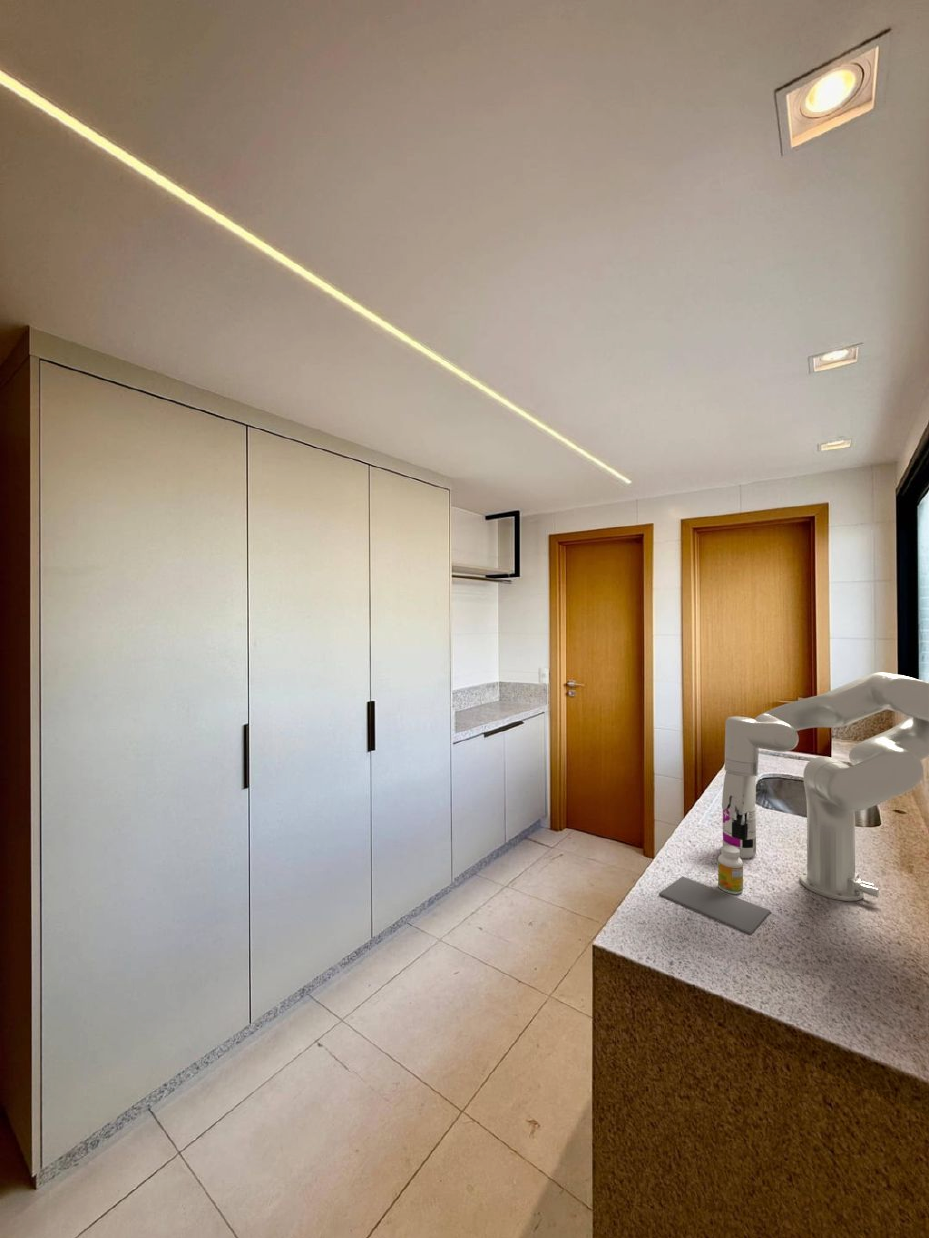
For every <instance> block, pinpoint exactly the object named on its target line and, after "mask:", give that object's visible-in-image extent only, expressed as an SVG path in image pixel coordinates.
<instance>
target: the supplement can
mask: <svg viewBox="0 0 929 1238" xmlns="http://www.w3.org/2000/svg"><path fill="white" fill-rule="evenodd" d="M729 814H730V809H728V810H726V811H725V810H723V809H722V846H725V845H728V846H733V847H736V848H738V849H739V850H740V857H739V858H740V859H752V858H753V857H754V856H756V855H757V808H756V806H755V807H754V808H753V809H751V810H750V811H749V817H748V823H747V824H748V838H747V839H746V840H745V841H743V840H740V839H737V838H734V837H732V821H731V819H730V818H729Z"/></svg>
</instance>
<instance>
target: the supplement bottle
mask: <svg viewBox="0 0 929 1238" xmlns="http://www.w3.org/2000/svg"><path fill="white" fill-rule="evenodd" d="M720 850H721V851H720V853H721V854H719V856H718V857H717V858H718V859H717V864H718V865H717V868H718V869H717V871H718V873H717V876H718V877H717V878H718V881H717V882H718V883H717V885H718V887H719V889H720V890H721V891H722V892H724V893H727V894H730V895H739V894H741V893H743V891H744V863H743V860H742V858H739V857H740V850H739V849H738V848H736V847H733V846H728V845H725V846H723V845H721V849H720Z"/></svg>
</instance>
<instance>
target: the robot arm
mask: <svg viewBox="0 0 929 1238" xmlns="http://www.w3.org/2000/svg"><path fill="white" fill-rule="evenodd" d="M885 710H888V711H893V712H896V713H899V714H902V715H905V716H904V718H903V720H902V721H901V722H900V723H898V724H897V725H895V726H893V727H892V728H890V729H887V730H885V731H883V732H881V733H878V734H876V735H874V736H871V737H868V738H867V739H865V740H862V741H860V742H858V743H856V744H855V745H854V746H853V747H852V748H850V751H849V753H848V754H849V755H848V759H849V762H850V763H851V766H850V765H849V764H847V763H845V762H843V761H841V760H839V759H836V758H834V757H829V756H817V757H815V758H812V759H811V760H809V761H808V762H807V764H806V765H805V766H804V769H803V775H802V777H803V786H804V792H805V798H806V799H805V800H806V870H804V871H802V872H801V873H799V881H800V883H801V884H802V885H803V886H804V887H805V888H806V889H808V890H810V891H811V892H813V893H815V894H817V895H820V896H823V897H825V898H829V899H834V900H837V901H842V902H843V901H844V902H855V901H860V900H862V899H863V898H864V895H865V894H866V895H869V896H871V897H875V898H879V895H880V894H879V893H880V889H879V888H876V887H875V884H874V883H871V882H868V881H865V880H862V879H861V878H860V873H859V872H856V816H855V812H860V811H865V810H867V809H870V808H872V807H875V806H878V805H880V804H883V803H886V802H888V801H890V800H892V799H894V798H897V797H899V796H901V795H904V794H906V793H908V792H910V791H912V790H913V789H915V788H916V787H917V786H918V785H919V784H920V783H921V782H922V779H923V777H924V766H923V763H922V761H923V760H924V759H926V758H928V757H929V682H928V681H925V680H921V679H917V678H914V677H910V676H906V675H904V674H903V675H902V674H896V673H890V672H881V671H880V672H874V673H871V674H870V673H869V674H868V675H865V676H862V677H861V678H858V679H855V680H853V681H851V682H848V683H845V684H843V685H841V686H838V687H836V688H834V689H832V690H829V691H827V692H824V693H822V694H819V695H815V696H810V697H806V698H804V699H800V700H795V701H792V702H788V703H784V704H782V705H780V706H777V707H773V708H772V709H769V710H767V711H765V712H763V713H760V714H759V715H757V716H756V717H755V718H751V717H746V716H737V715H736V716H729V717H727V719H726V720H725V725H724V726H725V732H724V733H725V734H724V771H725V774H724V777H723V778H724V780H723V787H722V796H721V797H722V799H721V800H722V801H721V809H722V811H723V810H725V811H726V810H728V809H730V814H729V818H730V819H731V821H732V837H734V838H737V839H740V840H743V841H745V840H746V839H747V838H748V824H747V823H748V817H749V811H750V810H751V809H753V808H754V807H756V801H757V800H756V799H757V785H756V783H757V782H756V777H757V776H758V775H759V755H760V754H759V749H763V750H768V751H771V752H772V751H773V752H777V753H786V752H790V751H792V750H794V749H795V748H796V747H797V746H798V743H799V741H800V740H799V739H800V738H799V737H800V736H799V734H798V731H801V730H806V729H813V728H841V727H846V726H848V725H851V724H853V723H855V722H858V721H860V720H863V719H865V718H868V717H870V716H873V715H876V714H878V713H881V712H883V711H885Z"/></svg>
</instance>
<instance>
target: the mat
mask: <svg viewBox="0 0 929 1238" xmlns="http://www.w3.org/2000/svg"><path fill="white" fill-rule="evenodd" d="M658 895H659V896H661V898H662V897H663V898H664V899H667V900H669V901H672V902H674V903H676V904H678V905H680V906H683V907H685V908H688V909H691V910H693V911H694V912H697V913H698V914H702V915H703V916H707V917H708V918H710V919H713V920H716V921H718V922H720V923H722V924H724V925H727V926H729V927H731V928H734V929H735V930H737V931H740V932H742V933H745V934H747V935H749V936H751V935H752V934H754V932H755V931H756V930H757V929H758V928H759V926H761V924H762V923H763V922H764V921H765V920H766V919H767V918H768V917H769V915H770V914H771V912H772V911H771V910H770V909H767V908H765V907H762V906H760V905H757V904H754V903H753V902H750V901H747V900H744V899H742V898H739V897H737V896H734V895H733V894H730V893H728V892H725V891H723V890H719V889H716V888H714V887H712V886H709V885H707V884H704V883H701V882H698V881H696V880H693V879H691V878H688V877H686V876H683V875H682V876H681V877H679V878H677V880H676V881H674V882H672V883H671V884H669V885H668V886H667V887H666V888H664V889H663V890H661V891H660V892H659V894H658Z"/></svg>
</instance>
